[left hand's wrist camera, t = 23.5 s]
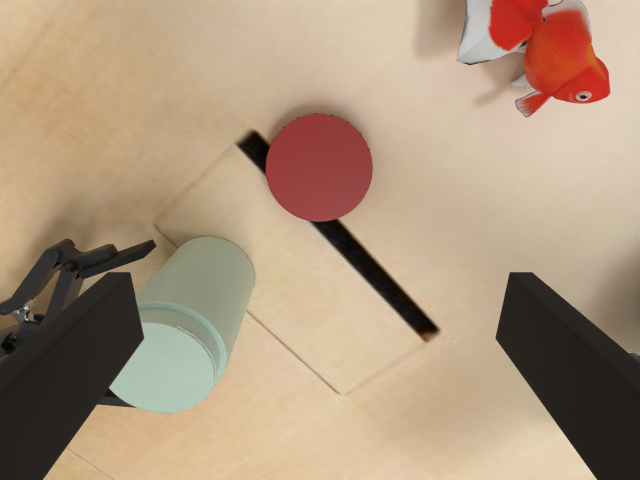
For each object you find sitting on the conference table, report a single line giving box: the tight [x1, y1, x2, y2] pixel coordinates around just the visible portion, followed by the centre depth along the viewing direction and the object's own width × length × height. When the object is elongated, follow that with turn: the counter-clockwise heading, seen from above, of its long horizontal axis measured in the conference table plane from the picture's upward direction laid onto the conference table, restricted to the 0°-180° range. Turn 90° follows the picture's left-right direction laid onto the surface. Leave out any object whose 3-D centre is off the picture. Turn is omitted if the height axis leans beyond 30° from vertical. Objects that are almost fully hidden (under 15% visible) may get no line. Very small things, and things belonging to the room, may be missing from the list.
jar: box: [109, 236, 255, 413], centre depth 34 cm, size 10×10×15 cm
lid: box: [266, 113, 373, 222], centre depth 36 cm, size 10×10×2 cm
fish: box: [457, 0, 610, 117], centre depth 29 cm, size 11×16×10 cm
